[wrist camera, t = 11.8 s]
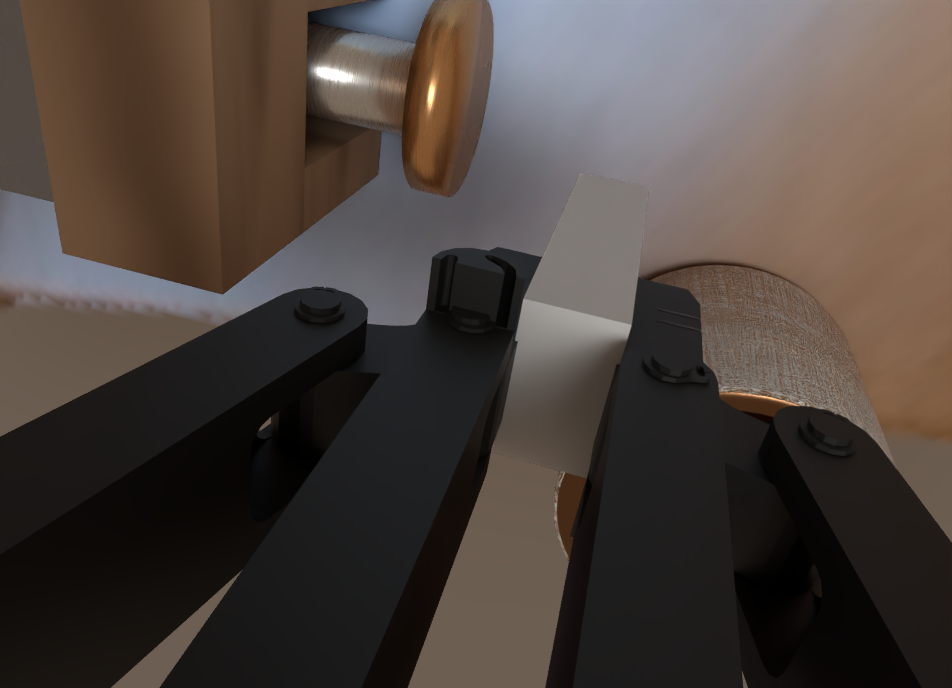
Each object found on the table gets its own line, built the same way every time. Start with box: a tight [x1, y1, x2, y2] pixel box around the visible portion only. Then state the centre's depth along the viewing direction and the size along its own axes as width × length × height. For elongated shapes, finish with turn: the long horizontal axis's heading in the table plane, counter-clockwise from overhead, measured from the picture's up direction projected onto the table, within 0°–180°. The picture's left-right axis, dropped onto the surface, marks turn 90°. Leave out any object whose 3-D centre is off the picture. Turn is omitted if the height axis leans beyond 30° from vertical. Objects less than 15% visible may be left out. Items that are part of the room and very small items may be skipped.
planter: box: [554, 265, 897, 577], centre depth 27 cm, size 11×11×10 cm
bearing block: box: [0, 0, 54, 202], centre depth 25 cm, size 10×9×9 cm
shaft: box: [306, 0, 493, 197], centre depth 25 cm, size 14×6×6 cm, turn 82°
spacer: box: [20, 0, 381, 294], centre depth 23 cm, size 5×9×12 cm, turn 172°
